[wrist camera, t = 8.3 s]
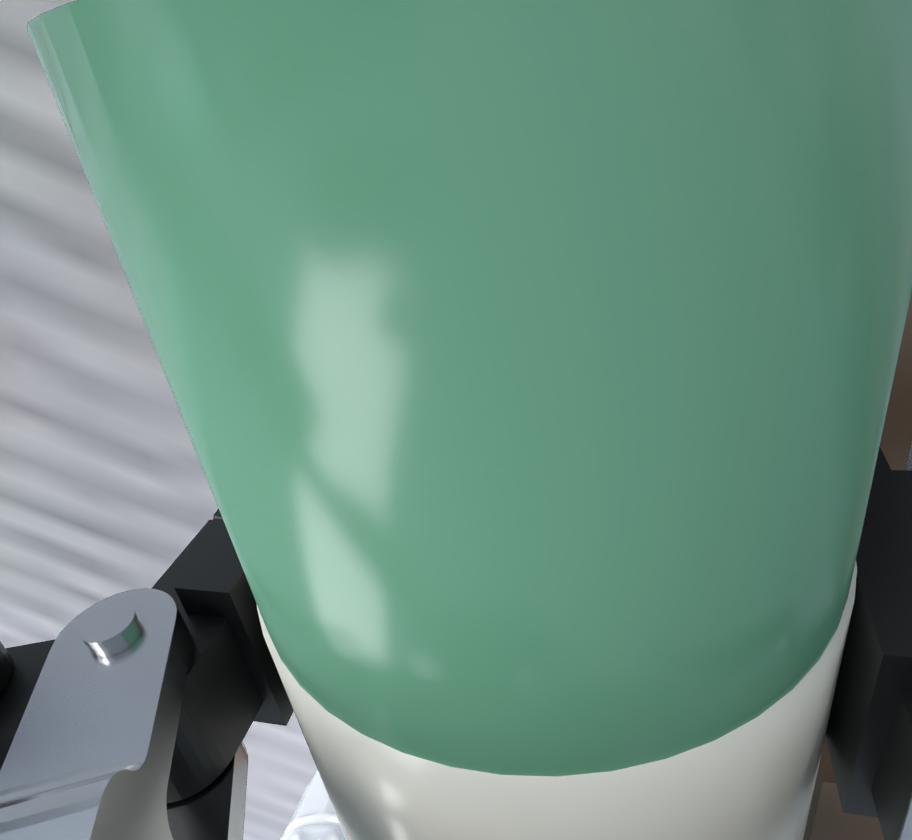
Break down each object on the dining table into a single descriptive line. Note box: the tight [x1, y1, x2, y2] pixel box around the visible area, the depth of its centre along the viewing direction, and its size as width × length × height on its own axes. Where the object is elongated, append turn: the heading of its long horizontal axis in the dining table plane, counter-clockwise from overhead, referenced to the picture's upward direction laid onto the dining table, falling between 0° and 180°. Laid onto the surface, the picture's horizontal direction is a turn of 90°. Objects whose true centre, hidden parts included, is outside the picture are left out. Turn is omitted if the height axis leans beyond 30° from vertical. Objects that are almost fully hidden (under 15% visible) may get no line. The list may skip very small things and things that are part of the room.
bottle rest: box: [803, 293, 912, 840], centre depth 12 cm, size 20×11×6 cm, turn 8°
